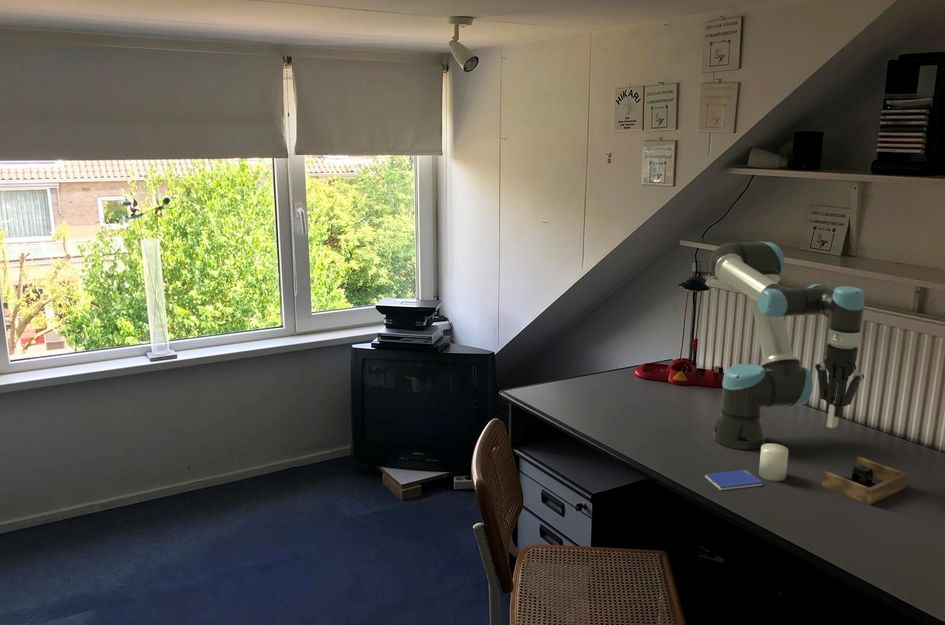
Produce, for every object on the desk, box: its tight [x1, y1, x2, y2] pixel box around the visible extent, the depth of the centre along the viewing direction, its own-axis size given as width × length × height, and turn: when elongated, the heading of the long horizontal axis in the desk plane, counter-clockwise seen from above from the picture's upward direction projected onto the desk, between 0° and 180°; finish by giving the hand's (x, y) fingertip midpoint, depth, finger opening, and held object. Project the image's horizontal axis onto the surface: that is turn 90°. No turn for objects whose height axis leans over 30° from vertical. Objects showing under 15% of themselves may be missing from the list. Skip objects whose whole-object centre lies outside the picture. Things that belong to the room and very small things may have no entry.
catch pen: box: [821, 456, 908, 506], centre depth 201 cm, size 13×17×4 cm
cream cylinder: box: [758, 443, 789, 482], centre depth 208 cm, size 7×7×8 cm
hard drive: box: [704, 469, 763, 491], centre depth 205 cm, size 2×8×12 cm
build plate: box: [839, 464, 880, 488], centre depth 204 cm, size 12×7×5 cm, turn 28°
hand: (831, 426), depth 207 cm, fingers closed
